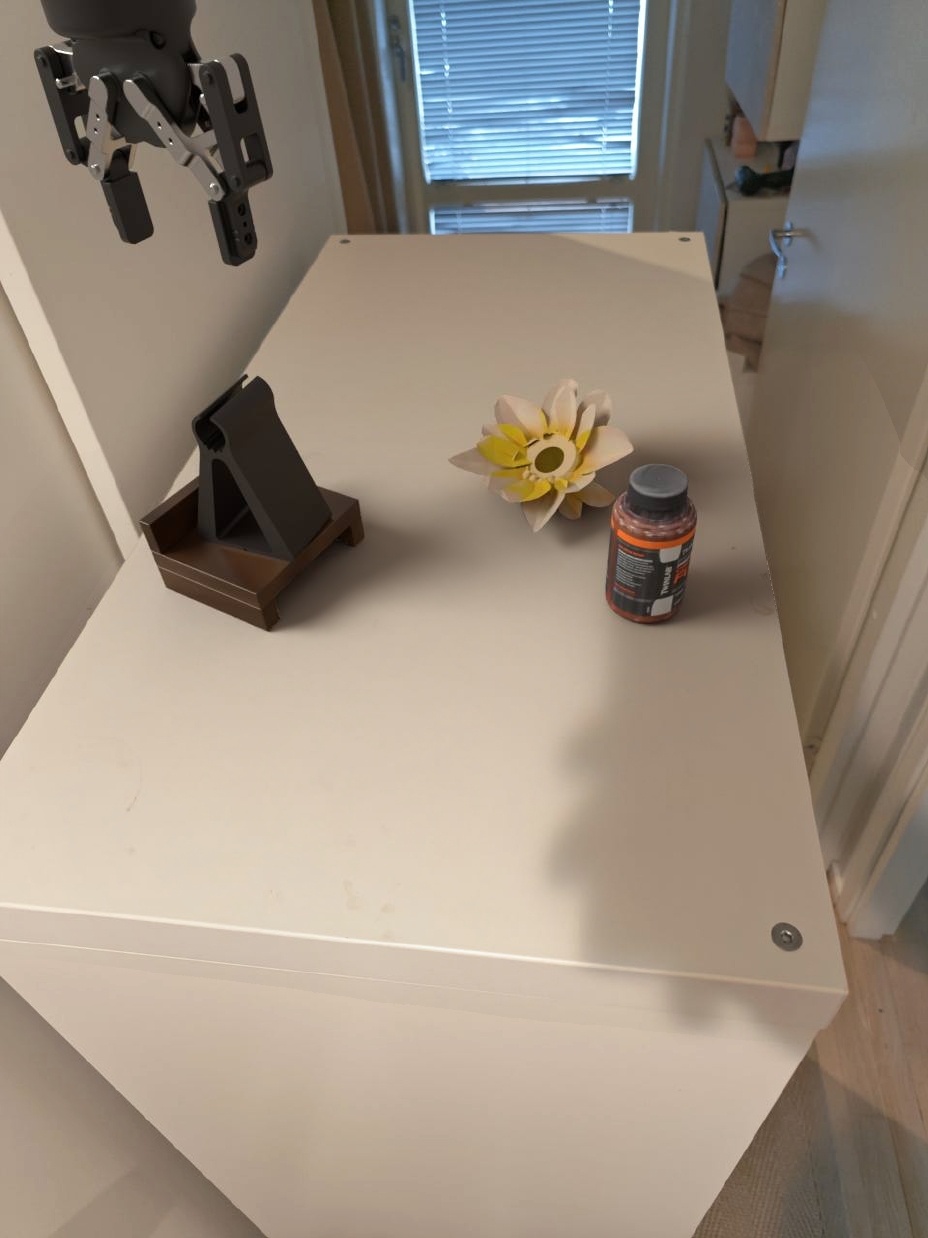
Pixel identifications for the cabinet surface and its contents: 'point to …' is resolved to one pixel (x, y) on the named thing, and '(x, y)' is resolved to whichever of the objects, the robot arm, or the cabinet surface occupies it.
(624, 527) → the supplement bottle
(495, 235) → the cabinet surface
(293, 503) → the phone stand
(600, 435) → the decorative flower
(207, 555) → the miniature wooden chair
